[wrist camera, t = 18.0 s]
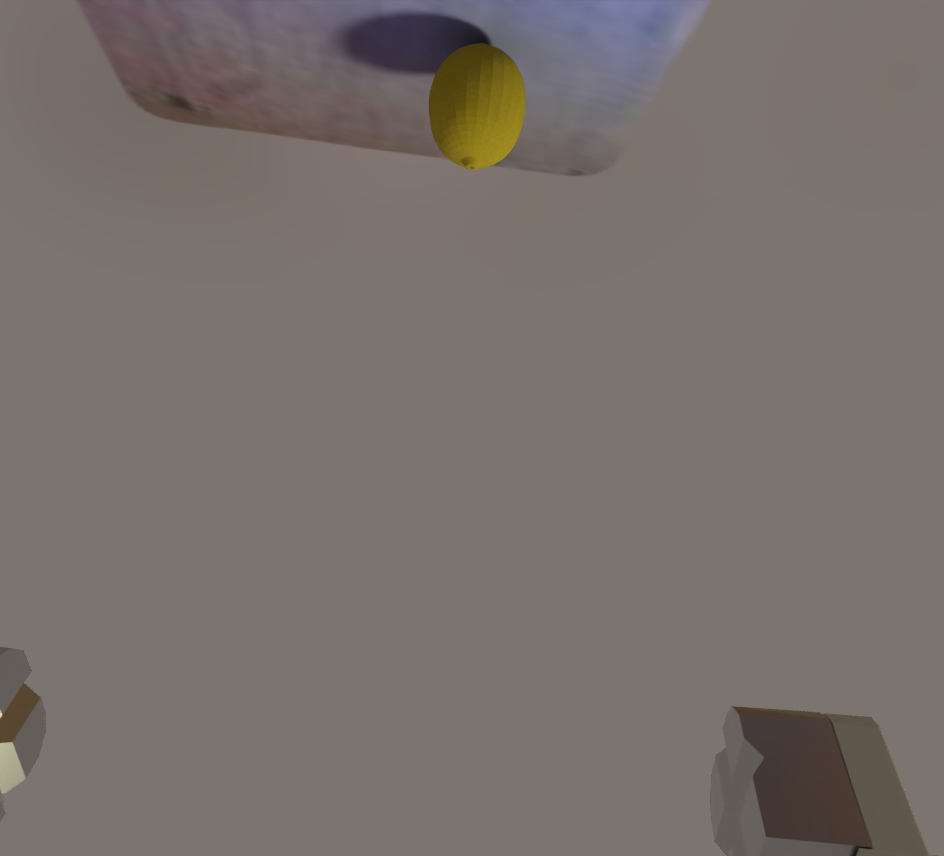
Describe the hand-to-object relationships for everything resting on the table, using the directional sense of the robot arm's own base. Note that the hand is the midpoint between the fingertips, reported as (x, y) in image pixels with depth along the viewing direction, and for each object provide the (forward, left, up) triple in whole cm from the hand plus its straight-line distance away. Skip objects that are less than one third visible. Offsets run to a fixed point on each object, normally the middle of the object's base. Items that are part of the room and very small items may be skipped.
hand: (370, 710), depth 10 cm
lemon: (+30, +16, -35) cm, 49 cm away
